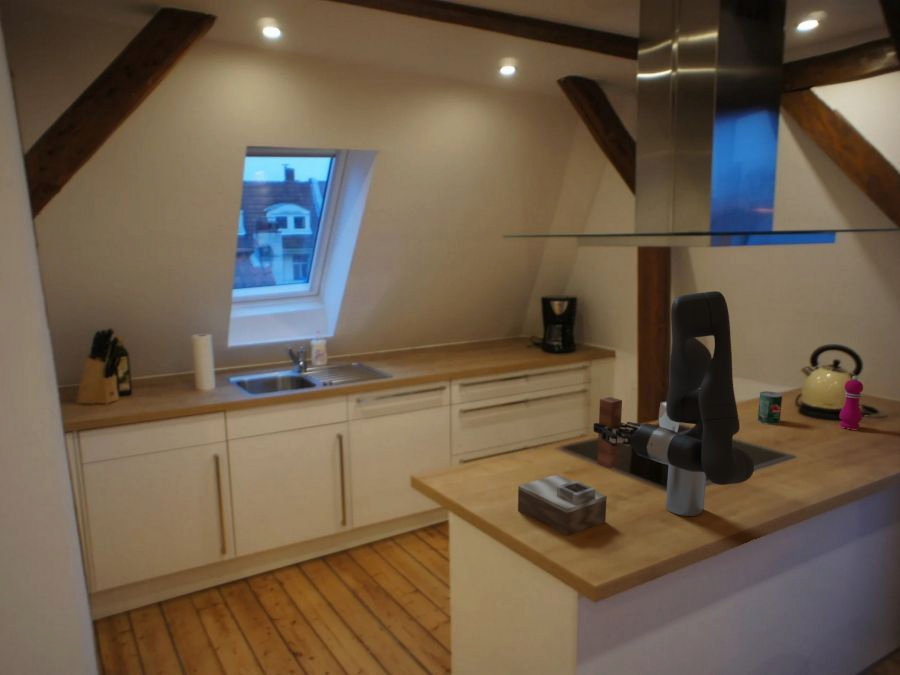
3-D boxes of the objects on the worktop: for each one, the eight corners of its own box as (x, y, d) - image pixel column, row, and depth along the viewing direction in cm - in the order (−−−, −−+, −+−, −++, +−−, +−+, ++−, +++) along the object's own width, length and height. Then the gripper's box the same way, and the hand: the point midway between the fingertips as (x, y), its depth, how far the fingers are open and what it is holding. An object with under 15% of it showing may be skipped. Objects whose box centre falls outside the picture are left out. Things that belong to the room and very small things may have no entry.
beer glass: (678, 450, 227) (680, 407, 225) (656, 448, 230) (659, 405, 227) (678, 444, 234) (681, 402, 231) (657, 442, 236) (660, 400, 234)
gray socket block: (555, 498, 188) (556, 465, 186) (605, 521, 173) (607, 486, 172) (517, 510, 180) (518, 476, 178) (566, 535, 165) (567, 499, 164)
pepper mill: (833, 425, 257) (839, 374, 253) (851, 424, 257) (857, 373, 254) (847, 431, 250) (852, 378, 246) (865, 430, 250) (871, 378, 247)
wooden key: (607, 461, 164) (610, 397, 161) (619, 465, 161) (622, 400, 158) (597, 464, 162) (599, 399, 159) (608, 468, 159) (611, 402, 156)
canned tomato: (778, 425, 256) (780, 397, 254) (755, 422, 260) (758, 394, 258) (781, 420, 262) (783, 393, 261) (759, 417, 267) (761, 390, 265)
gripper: (680, 422, 152) (620, 405, 165) (639, 433, 144) (580, 415, 157) (678, 454, 153) (619, 435, 167) (638, 467, 145) (579, 445, 159)
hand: (600, 425), depth 162 cm, fingers closed on wooden key, 3 cm apart
